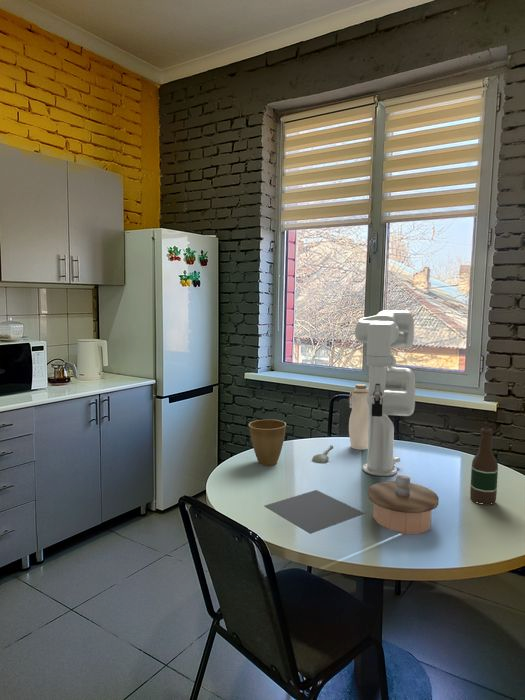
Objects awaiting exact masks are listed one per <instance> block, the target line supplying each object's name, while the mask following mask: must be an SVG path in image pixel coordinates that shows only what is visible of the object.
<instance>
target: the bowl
mask: <svg viewBox="0 0 525 700" xmlns="http://www.w3.org/2000/svg"><path fill="white" fill-rule="evenodd" d="M432 511H433V510H431V511H427V512H422V513H404V512H397V511H392V510H388V509H385V508H382V507H380V506H378V505H376V504H374V503H373V514H372V515H373V519H374V520H375V521H376V523H377V524H378V525H380V526H382V527H384V528H386V529H388V530H391V531H395V532H399V534H403V535H420V534H423V533H425V532H427V531H430V529H431V526H430V525H432Z"/></svg>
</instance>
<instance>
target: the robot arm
mask: <svg viewBox="0 0 525 700" xmlns="http://www.w3.org/2000/svg"><path fill="white" fill-rule="evenodd" d="M414 322H415V320H414V316H413V314H412V313H411V311H410V310H400V309H399V310H395V309H393V310H392V309H391V310H390V309H389V310H388V309H385V310H381V311H379V312H378V313H377V314H376V315H372V316H367V317H361V318H360V319H359V320H358V321H357V323H356V325H355V329H354V336H355V339H356V340H357V342H359V343H361V344H362V343H363V344H366V366H367V367H369V372H368V374H369V375H368V390H369V393H367V409H368V449H367V458H366V459H367V460H366V463H364V464H363V465H362V470H363V471H364V473H367V474H369V475H372V476H378V477H379V476H380V477H390V476H395V474H396V473H398V469H397V467H396V466H395V464H397V463H400V462H401V458H400V457H399V456H397V457H394V445H395V444H394V442H395V441H394V440H395V435H394V433H395V426H394V423H393V421H392V420H391V418H390V417H389V416H398V417H399V416H400V417H401V416H402V417H410V416H412V415H413V414H414V411H415V409H416V408H415V407H416V376H415V373H414V371H413V370H412V369H411V368H407V367H397V360H396V358H395V356H394V355H393V353H392V349H409V348H411V347H412V345H413V343H414V340H415V339H414V337H415V334H414V333H415V323H414Z"/></svg>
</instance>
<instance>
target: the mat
mask: <svg viewBox="0 0 525 700" xmlns="http://www.w3.org/2000/svg"><path fill="white" fill-rule="evenodd" d="M264 507H265V508H267V509H268V510H270V511H271V512H274V513H275V514H277V515H278V516H280V517H282V518H283V519H284V520H287V522H290V523H292V524H293V525H295V526H296V527H299V528H300V529H302V530H303V531H305V532H307V533H309V534H310V535H311V534H313V533H317V532H319V531H321V530H325V529H326V528H329V527H332V526H335V525H338V524H341V523H343V522H346V521H348V520H351V519H353V518H357V517H359V516H362V515H364V514H365V515H366V512H364V511H361V510H359V509H358V508H355V507H354V506H351V505H349V504H346V503H344V502H343V501H340V500H338V499H337V498H334V497H332V496H330V495H328V494H325V493H324V492H321V491H320V490H317V489H314V490H311V491H307V492H304V493H301V494H298V495H295V496H292V497H289V498H285V499H282V500H278V501H276V502H272V503H268V504H265V505H264Z"/></svg>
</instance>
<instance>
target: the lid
mask: <svg viewBox="0 0 525 700" xmlns="http://www.w3.org/2000/svg"><path fill="white" fill-rule="evenodd" d="M367 498H368V499H369V501H370V502H372V504H373V505H374V504H376V505H378V506H380V507H382V508H385V509H388V510H392V511H397V512H404V513H422V512H427V511H431V510H432V511H433V510H435V509H436V508H437V507H438V506H439V503H440V502H439V496H438V494H437V493H436V492H435V491H433V490H432V489H430V488H428V487H426V486H423V485H420V484H417V483H412V482H411V477H410V476H407V475H405V474H404V475H403V474H401V475H396V476H395V481H393V480H390V481H380V482H377V483H374V484H372V485H370V486H369V487H368V489H367Z"/></svg>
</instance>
